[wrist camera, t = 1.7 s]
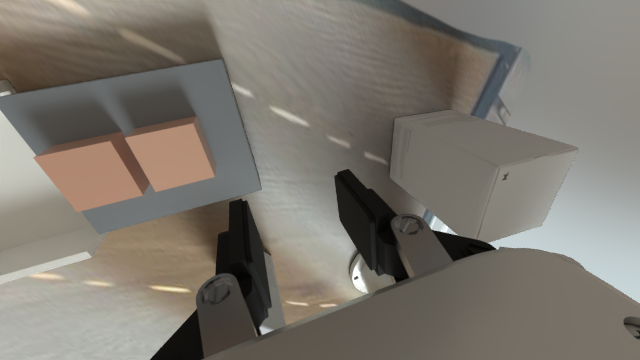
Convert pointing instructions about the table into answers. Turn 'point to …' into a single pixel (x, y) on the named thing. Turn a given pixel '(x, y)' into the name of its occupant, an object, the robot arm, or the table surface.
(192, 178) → the tile
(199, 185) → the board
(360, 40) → the table surface
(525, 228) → the supplement box
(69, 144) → the tile
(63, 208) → the tray
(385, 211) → the robot arm
